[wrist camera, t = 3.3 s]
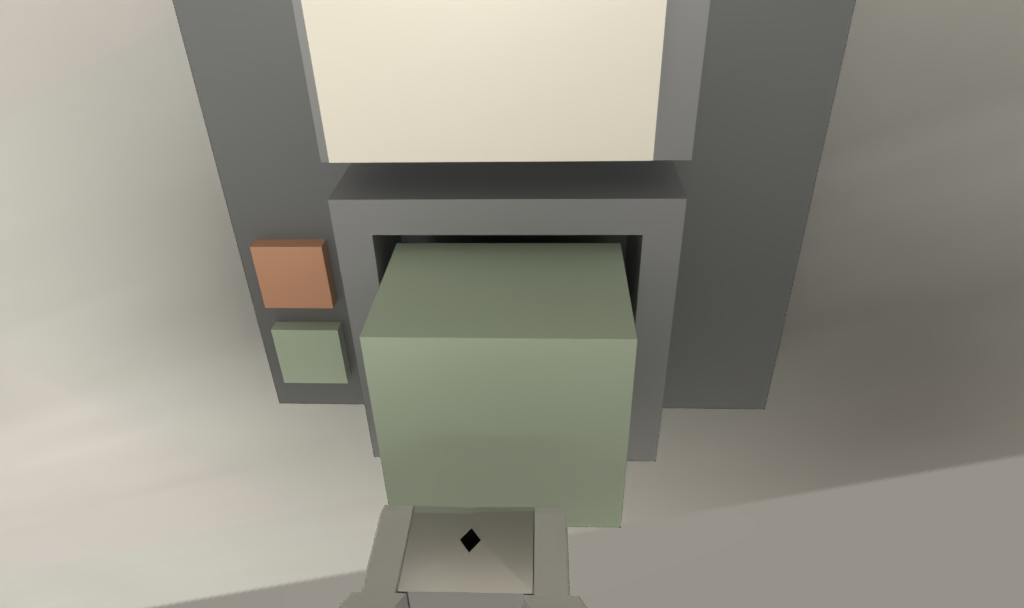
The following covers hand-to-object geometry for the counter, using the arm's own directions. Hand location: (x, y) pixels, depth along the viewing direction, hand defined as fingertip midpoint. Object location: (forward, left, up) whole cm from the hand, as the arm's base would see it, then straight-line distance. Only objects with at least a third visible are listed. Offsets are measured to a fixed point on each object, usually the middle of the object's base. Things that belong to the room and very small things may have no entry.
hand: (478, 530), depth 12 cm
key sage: (0, 0, -6) cm, 6 cm away
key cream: (0, -8, -6) cm, 10 cm away
